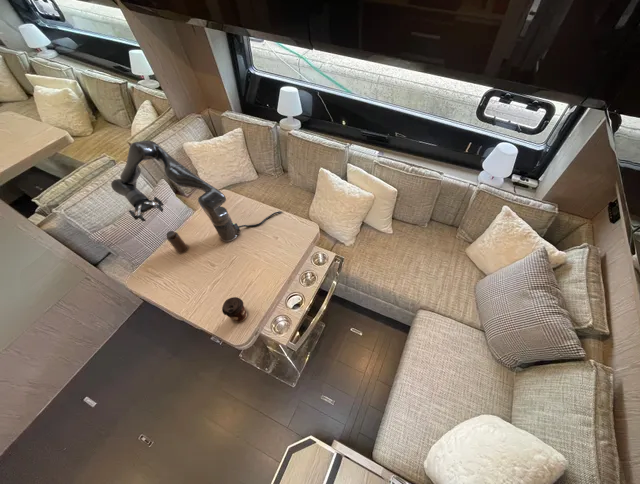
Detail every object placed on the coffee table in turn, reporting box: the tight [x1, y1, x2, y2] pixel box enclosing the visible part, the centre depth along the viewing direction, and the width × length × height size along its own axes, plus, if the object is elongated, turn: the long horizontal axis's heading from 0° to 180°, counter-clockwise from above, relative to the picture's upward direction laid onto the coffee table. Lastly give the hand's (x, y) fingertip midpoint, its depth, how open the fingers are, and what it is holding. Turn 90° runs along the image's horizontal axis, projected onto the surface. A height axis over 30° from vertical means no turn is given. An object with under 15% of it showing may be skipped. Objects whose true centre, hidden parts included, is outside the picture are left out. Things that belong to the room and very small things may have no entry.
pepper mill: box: [165, 230, 188, 254], centre depth 145 cm, size 5×5×14 cm
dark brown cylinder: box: [221, 296, 248, 323], centre depth 123 cm, size 9×8×13 cm
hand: (153, 215), depth 139 cm, fingers open, 8 cm apart
